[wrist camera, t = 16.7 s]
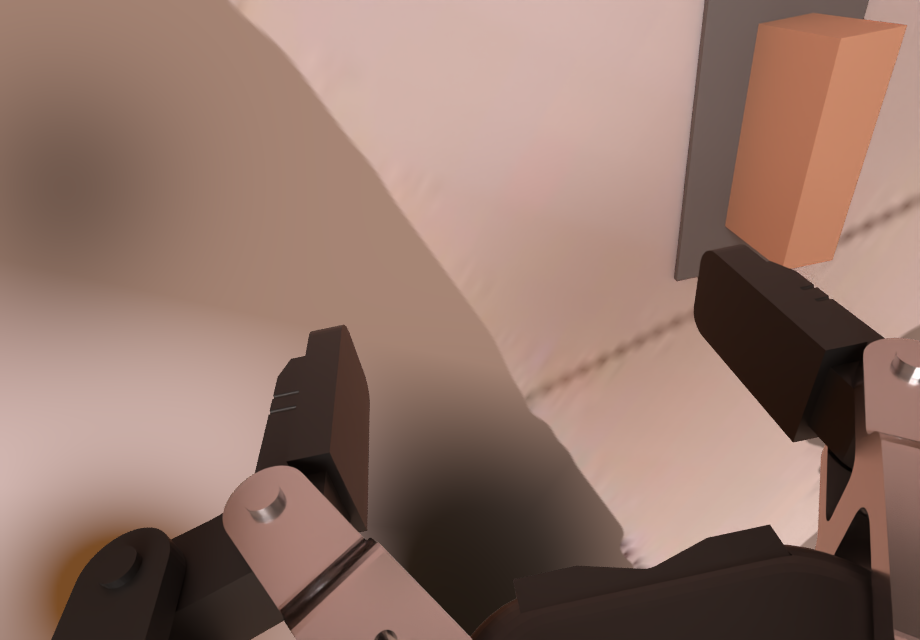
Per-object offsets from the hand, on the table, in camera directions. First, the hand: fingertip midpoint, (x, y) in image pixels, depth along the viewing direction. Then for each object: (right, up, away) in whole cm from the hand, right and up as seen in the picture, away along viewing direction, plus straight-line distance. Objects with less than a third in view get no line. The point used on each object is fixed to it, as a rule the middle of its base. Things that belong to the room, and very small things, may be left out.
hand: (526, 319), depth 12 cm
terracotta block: (+23, +15, +30) cm, 40 cm away
